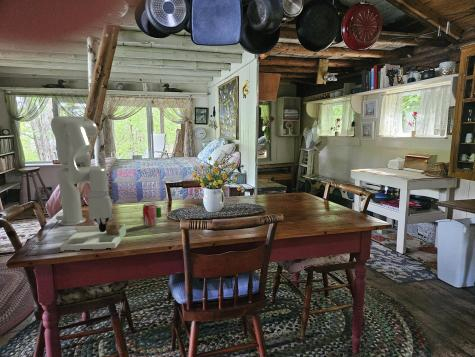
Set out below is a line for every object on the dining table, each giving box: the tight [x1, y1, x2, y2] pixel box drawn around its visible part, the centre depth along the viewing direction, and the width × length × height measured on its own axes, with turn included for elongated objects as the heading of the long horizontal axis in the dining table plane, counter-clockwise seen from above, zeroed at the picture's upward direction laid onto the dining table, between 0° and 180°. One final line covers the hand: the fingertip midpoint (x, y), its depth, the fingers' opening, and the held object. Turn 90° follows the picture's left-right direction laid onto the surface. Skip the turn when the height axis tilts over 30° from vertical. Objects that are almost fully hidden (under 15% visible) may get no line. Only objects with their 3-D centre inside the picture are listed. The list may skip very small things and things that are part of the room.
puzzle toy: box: [155, 204, 162, 218], centre depth 183 cm, size 6×6×6 cm
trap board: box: [60, 223, 127, 252], centre depth 143 cm, size 23×19×5 cm
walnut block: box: [106, 221, 121, 235], centre depth 147 cm, size 5×5×5 cm
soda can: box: [142, 202, 158, 227], centre depth 166 cm, size 7×7×12 cm
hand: (103, 231), depth 147 cm, fingers closed
